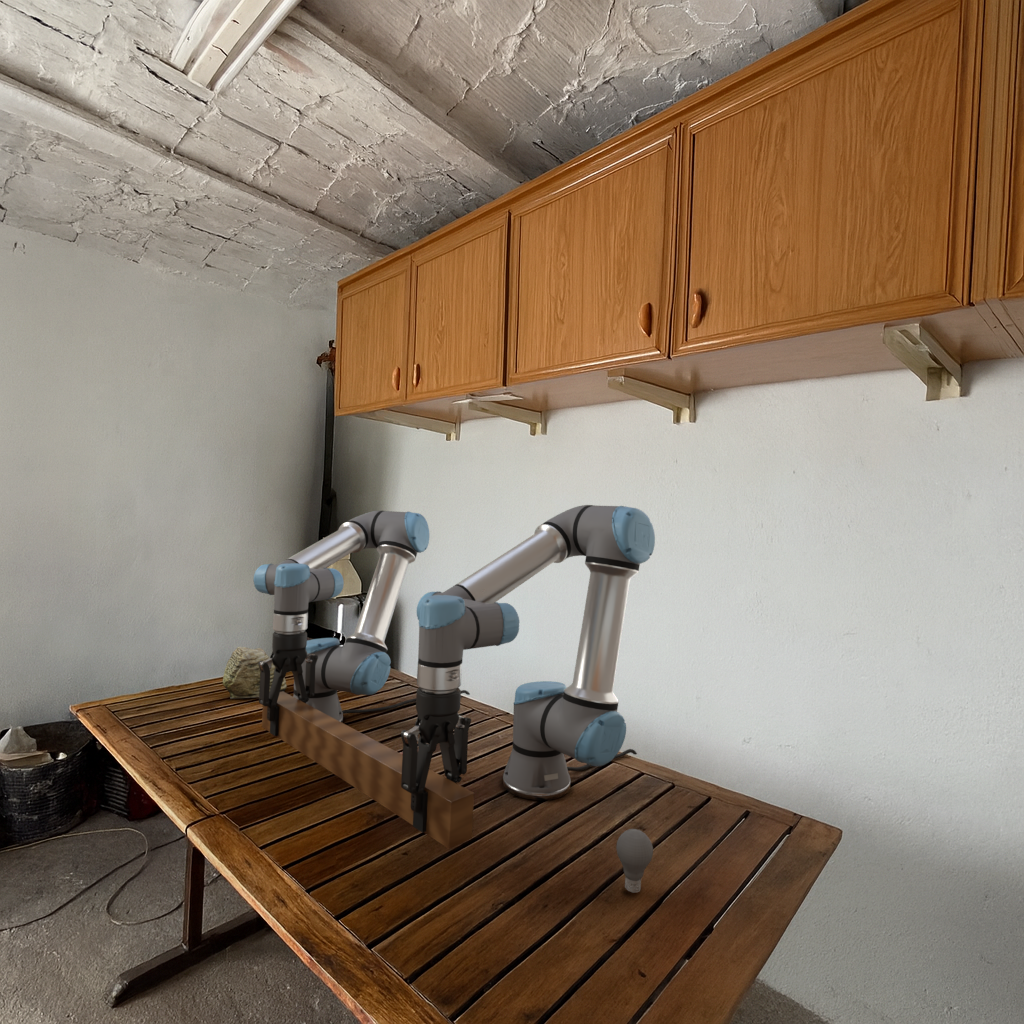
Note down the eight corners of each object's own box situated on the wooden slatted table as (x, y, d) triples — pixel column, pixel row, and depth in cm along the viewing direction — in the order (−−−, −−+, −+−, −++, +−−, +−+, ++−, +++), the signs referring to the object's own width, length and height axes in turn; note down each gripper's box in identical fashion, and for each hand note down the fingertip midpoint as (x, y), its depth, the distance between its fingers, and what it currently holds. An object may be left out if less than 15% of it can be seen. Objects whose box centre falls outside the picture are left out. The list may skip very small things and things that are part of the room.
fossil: (218, 695, 195) (220, 647, 195) (278, 685, 208) (279, 640, 207) (228, 703, 189) (230, 653, 188) (289, 692, 201) (290, 645, 201)
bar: (261, 727, 150) (263, 695, 150) (281, 722, 153) (283, 691, 153) (448, 849, 101) (451, 801, 101) (472, 838, 105) (474, 792, 105)
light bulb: (610, 879, 108) (613, 822, 108) (644, 879, 109) (647, 822, 109) (619, 902, 102) (622, 840, 102) (655, 901, 103) (658, 840, 103)
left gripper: (258, 638, 137) (254, 745, 137) (333, 629, 150) (329, 727, 150) (244, 632, 142) (240, 735, 143) (318, 624, 155) (314, 718, 155)
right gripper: (408, 703, 99) (402, 851, 99) (492, 683, 111) (486, 814, 112) (381, 691, 104) (375, 832, 104) (464, 674, 117) (458, 799, 117)
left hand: (285, 731), depth 146 cm, fingers closed on bar, 5 cm apart
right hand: (432, 822), depth 108 cm, fingers closed on bar, 5 cm apart
